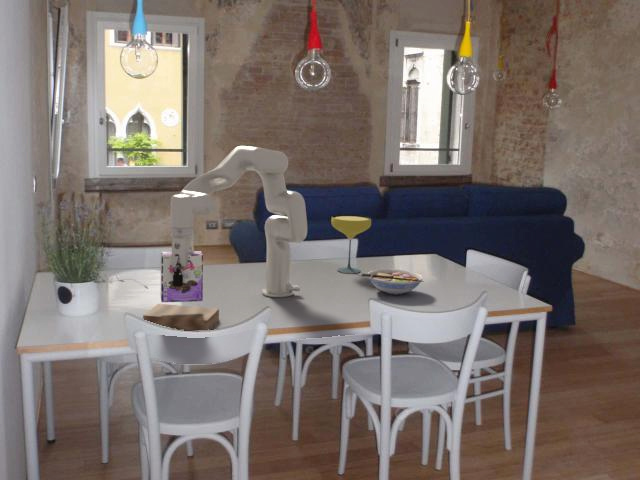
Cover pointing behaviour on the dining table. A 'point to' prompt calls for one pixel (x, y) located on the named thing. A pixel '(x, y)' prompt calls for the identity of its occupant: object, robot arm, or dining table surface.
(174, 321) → the walnut base
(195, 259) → the candy box
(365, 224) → the cocktail glass
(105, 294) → the dining table surface
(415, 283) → the ramen bowl
